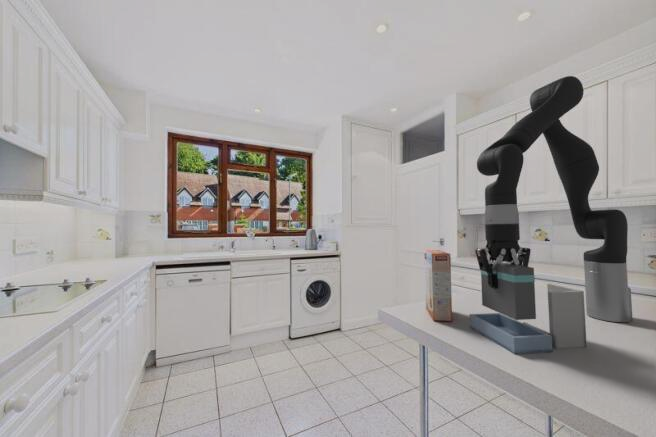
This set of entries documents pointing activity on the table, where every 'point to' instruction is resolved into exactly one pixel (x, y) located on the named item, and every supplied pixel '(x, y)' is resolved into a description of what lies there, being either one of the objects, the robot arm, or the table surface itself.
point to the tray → (511, 333)
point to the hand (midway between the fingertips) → (504, 287)
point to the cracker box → (438, 285)
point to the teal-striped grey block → (511, 291)
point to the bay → (565, 317)
